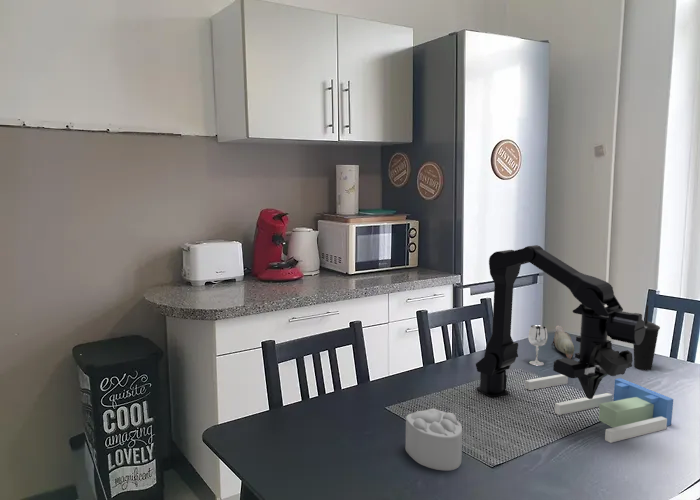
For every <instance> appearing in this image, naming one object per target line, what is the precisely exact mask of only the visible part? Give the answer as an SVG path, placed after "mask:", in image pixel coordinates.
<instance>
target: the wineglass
mask: <svg viewBox="0 0 700 500" xmlns="http://www.w3.org/2000/svg"><path fill="white" fill-rule="evenodd" d="M527 338H528V341H529V343H530V344H531V346H534V347H535V353H536V354H535V356H536V357H535V359H534V360H531V361H529V364H530V365H533V366H539V367H541V366H544V365H545V363H544V362H543V361H539V359H538V357H539V352H540V351H539V350H540V349H539V347H541V348H542V347H543V346H545V345H547V342H548V330H547V326H544V325H540V324H539V325H538V324H532V325H530V328H529V330H528V337H527Z"/></svg>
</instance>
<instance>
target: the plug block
mask: <svg viewBox="0 0 700 500" xmlns="http://www.w3.org/2000/svg"><path fill="white" fill-rule="evenodd" d="M653 408H654V404H651V403H649V402H647V401H645V400H642V399H640V398H638V397H633V398H628V399H622V400H617V401H613V400H612V402H606V403H601V404H600V407H599V410H598V421H599V422H601V423H604V424H605V425H607V426H609V427H611V428H614V427H618V426H622V425H627V424H631V423H635V422H639V421H644V420H648V419H652V418H653Z"/></svg>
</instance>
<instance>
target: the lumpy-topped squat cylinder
mask: <svg viewBox="0 0 700 500" xmlns="http://www.w3.org/2000/svg"><path fill="white" fill-rule="evenodd" d="M462 446H463V427H462V424H461V422H460V421H458V419H457V416H456V415H455V413H453V412H445V411H442V410H438V409H437V408H429V409H425V410H417V411H414V412H412V413H409V414H407V416H406V418H405V451H406V453H407V454H408V455H409V457H411V459H413V460H414V461H415V462H416V463H418V464H419V465H421V466H424V467H426V468H429V469H432V470H437V471H446V472H447V471H453V470H456V469H458V468H459V467H460V466H461V464H462V456H463V455H462V454H463V452H462V451H463V450H462V449H463V447H462Z"/></svg>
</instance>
